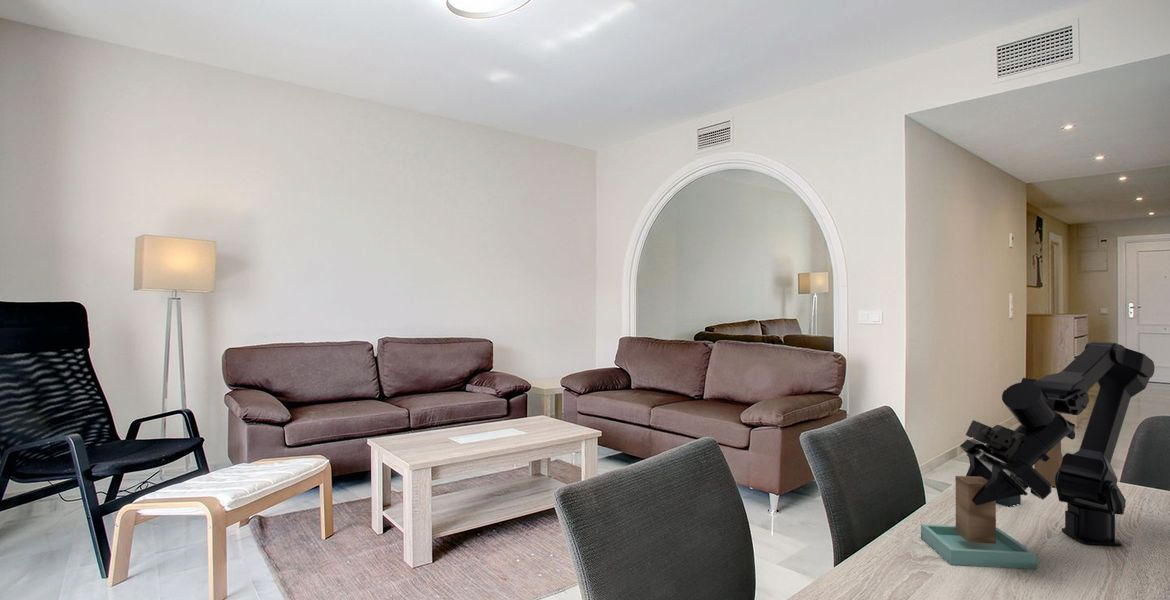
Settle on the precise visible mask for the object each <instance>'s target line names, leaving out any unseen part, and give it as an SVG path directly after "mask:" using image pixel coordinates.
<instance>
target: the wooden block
mask: <svg viewBox="0 0 1170 600" xmlns="http://www.w3.org/2000/svg"><path fill="white" fill-rule="evenodd" d="M1056 413H1057V412H1056ZM1058 414H1060V415H1062V413H1058ZM1046 455H1047V456H1048V457H1049V458H1050V459H1048V460H1047V461H1046V462H1044V461H1042V460H1038V461H1037V462H1036V463H1035V464H1034V465H1033V468H1034V469H1035V470H1036V471H1037V472H1039V473H1040V474H1041V475H1042V476H1043V477H1044V478H1045V479H1046V480H1047V481H1048V482H1049V483H1050V484H1051V486H1054V487H1053V488H1055V487H1056V484H1055V476H1056V473H1057V472H1058V469H1059V468H1060V466H1061V464H1062V460H1063V456H1064V455H1063V454H1062V440H1061V441H1060V442H1059V443H1058V444H1056V445H1055V446H1054V447H1053V448H1052V449H1051V450H1050V451H1049V452H1047V453H1046Z"/></svg>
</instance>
